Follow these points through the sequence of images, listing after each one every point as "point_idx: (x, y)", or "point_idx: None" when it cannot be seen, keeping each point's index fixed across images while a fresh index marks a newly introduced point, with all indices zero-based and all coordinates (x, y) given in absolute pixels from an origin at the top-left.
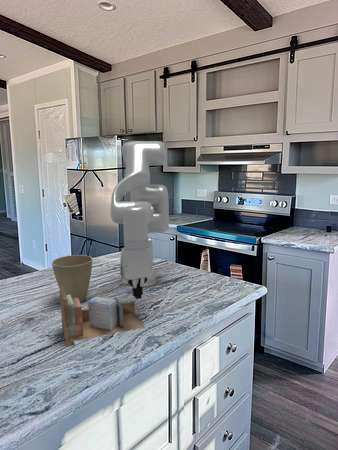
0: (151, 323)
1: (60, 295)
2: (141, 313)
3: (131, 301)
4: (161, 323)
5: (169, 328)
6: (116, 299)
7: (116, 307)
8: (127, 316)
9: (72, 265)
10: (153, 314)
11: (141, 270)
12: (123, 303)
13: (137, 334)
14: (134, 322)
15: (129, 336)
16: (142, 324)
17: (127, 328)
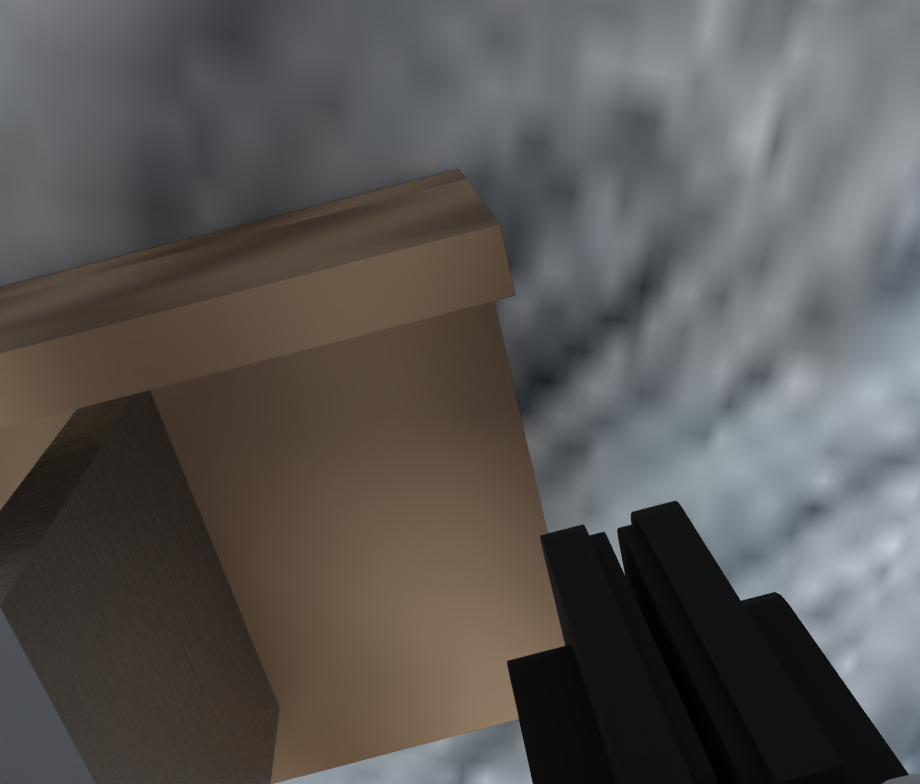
0: (690, 500)
1: None
2: (599, 118)
3: (441, 251)
4: (824, 516)
5: (877, 649)
6: (30, 713)
7: None
8: (336, 363)
9: None
10: (795, 199)
11: None
12: (237, 344)
13: (463, 745)
14: (446, 579)
15: (363, 778)
16: (557, 643)
17: (338, 728)
